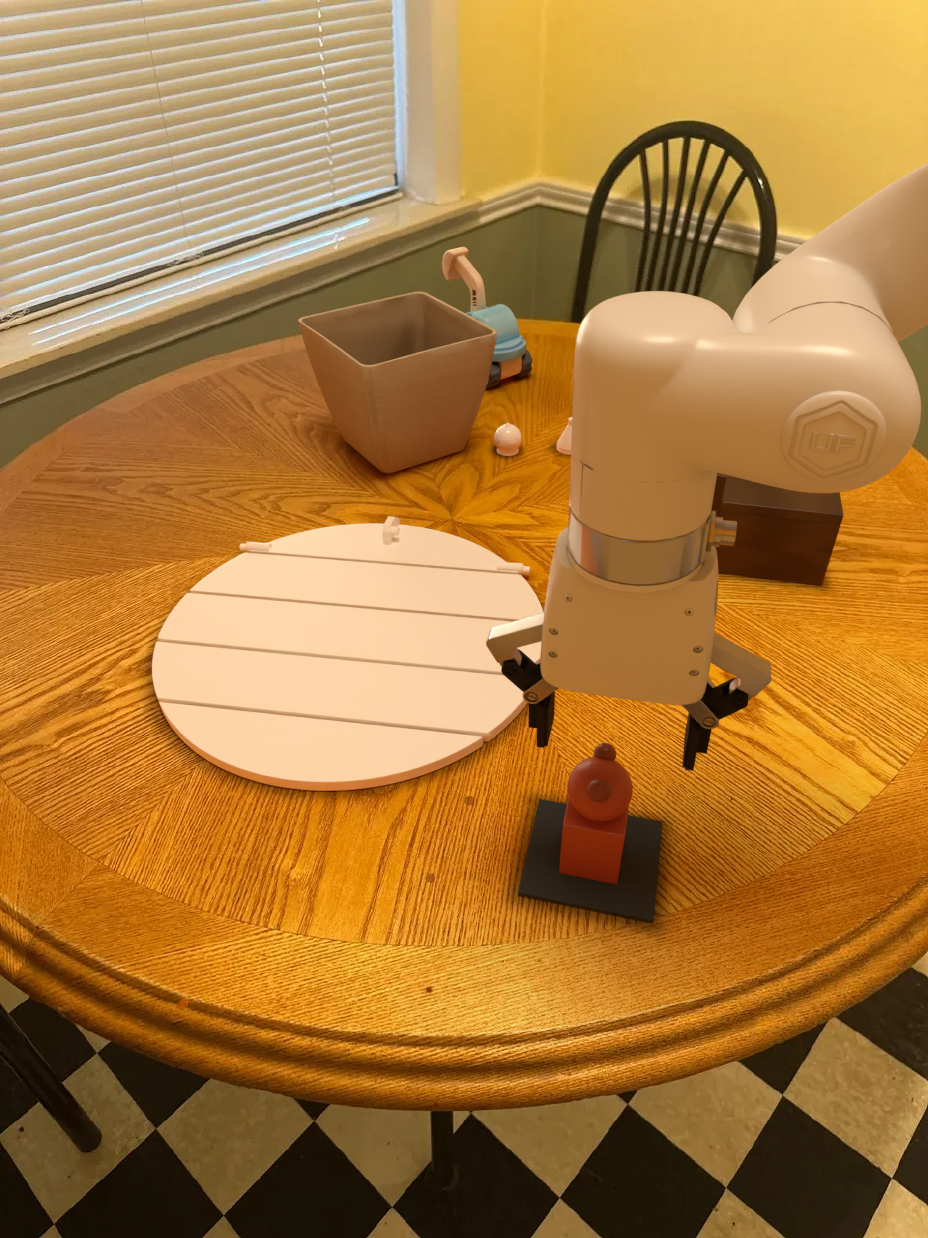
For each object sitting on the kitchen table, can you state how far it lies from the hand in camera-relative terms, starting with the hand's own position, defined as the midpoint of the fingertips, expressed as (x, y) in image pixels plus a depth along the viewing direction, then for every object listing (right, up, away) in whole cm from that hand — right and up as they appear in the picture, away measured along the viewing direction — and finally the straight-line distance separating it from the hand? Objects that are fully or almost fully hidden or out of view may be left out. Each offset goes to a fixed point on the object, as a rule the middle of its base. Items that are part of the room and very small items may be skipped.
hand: (615, 743), depth 58 cm
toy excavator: (-7, +48, +80) cm, 94 cm away
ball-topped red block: (0, -10, +8) cm, 13 cm away
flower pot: (-18, +32, +61) cm, 71 cm away
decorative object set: (+4, +32, +59) cm, 67 cm away
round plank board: (-21, +7, +30) cm, 37 cm away
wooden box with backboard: (+24, +17, +41) cm, 50 cm away
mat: (0, -10, +9) cm, 13 cm away
